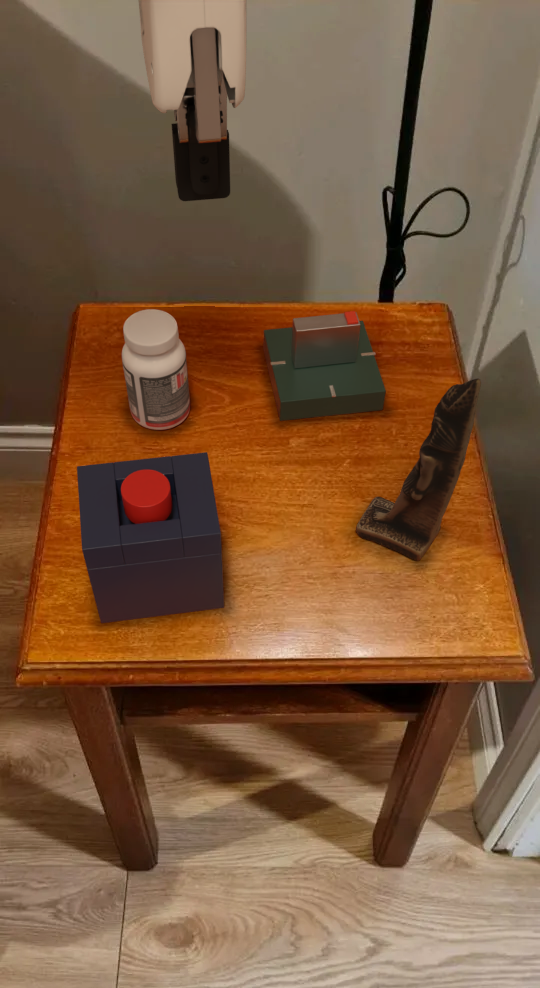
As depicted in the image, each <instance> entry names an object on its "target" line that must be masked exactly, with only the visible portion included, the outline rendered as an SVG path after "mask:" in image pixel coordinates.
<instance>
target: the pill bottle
mask: <svg viewBox="0 0 540 988" xmlns="http://www.w3.org/2000/svg"><path fill="white" fill-rule="evenodd" d="M122 328H123V329H122V332H123V338H124V339H123V340H124V344H123V346H122V350H121V362H122V369H123V374H124V380H125V388H126V393H127V400H128V406H129V411H130V414H131V417H132V418H133V420H134V421H135V422H136V423H137V424H138V425H139V426H142V427H143V428H146V429H148V430H152V431H153V430H154V431H164V430H170V429H172V428H175V427H177V426H179V425H181V424H182V423H183V422H184V421H185V420H186V419H187V417H188V416H189V413H190V410H191V395H190V383H189V375H188V361H187V352H186V347H185V345H184V343H183V342H182V340H181V339H180V337H179V336H180V335H179V327H178V323H177V320H176V319H175V317H174V316H173V315H171V314H170V313H168V312H167V311H165V310H162V309H155V308H150V309H149V308H147V309H142V310H139V311H136V312H134V313H133V314H131V315H129V316H128V318H127V319H126V320H125V321H124V323H123V327H122Z"/></svg>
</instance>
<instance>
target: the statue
mask: <svg viewBox="0 0 540 988" xmlns="http://www.w3.org/2000/svg"><path fill="white" fill-rule="evenodd" d="M481 385H482V381H481V379H480V378H474V379H470V380H468V381H465V382H463V383H457V384H454V385H451V387H449V388H448V389H447V390H446V392H445V393H444V395H442V397H441V399H440V400H439V402H438V403H437V404H436V406H435V408H434V411H433V418H432V420H431V424H430V431H429V433H428V435H427V436H426V438H425V439H424V441H423V442H422V444H421V445H420V448H419V452H418V453H419V454H418V455H419V457H418V460H417V461H416V463H415V464H414V465H413V467H412V469H411V471H410V472H409V473H408V475H407V476H406V477H405V479H404V481H403V484H402V487H401V489H400V492H399V494H398V497H397V498H396V499H395V502H393V501H391V500H389V499H386V498H384V497H381V496H375V497H374V498H372V500H371V502H369V504H368V506H367V508H366V509H365V510H364V513H362V515H361V517H360V519H359V521H358V522H357V524H356V527H355V532H356V534H357V535H358V536H359V537H360V538H362V539H364V540H367V541H370V542H373V543H376V544H379V545H381V546H383V547H385V548H387V549H390V550H392V551H395V552H398V553H399V554H401V555H404V556H405V557H408V558H410V559H411V560H414V561H417V562H418V561H421V560H422V558H423V557H424V556H425V554H426V552H427V551H428V550H429V548H430V547H431V545H432V544H433V542H434V540H435V539H436V538H437V536H438V534H439V533H440V531H441V529H442V528H441V524H442V521H443V520H442V519H443V517H444V515H445V513H446V511H447V509H448V506H449V504H450V501H451V498H452V496H453V494H454V491H455V488H456V486H457V483H458V481H459V477H460V476H461V471H462V469H463V466H464V464H465V460H466V455H467V451H468V448H469V447H468V446H469V443H470V440H471V435H472V431H473V428H474V422H475V418H476V413H477V407H478V401H479V396H480V392H481V388H482V386H481Z"/></svg>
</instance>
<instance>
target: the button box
mask: <svg viewBox="0 0 540 988" xmlns="http://www.w3.org/2000/svg"><path fill="white" fill-rule="evenodd" d="M210 465H211V464H210V460H209V454H208V452H206V451H205V452H195V453H188V454H187V453H186V454H178V455H167V456H160V457H159V456H158V457H150V458H141V459H131V460H123V461H122V460H121V461H114V462H105V463H95V464H94V463H93V464H86V465H78V466H76V475H77V491H78V492H77V493H78V507H79V508H78V509H79V523H80V540H81V551H82V555H83V558H84V563H85V567H86V571H87V575H88V578H89V582H90V585H91V589H92V593H93V597H94V601H95V605H96V609H97V612H98V616H99V620H100V623H101V624H105V623H113V622H121V621H132V620H138V619H139V620H140V619H145V618H152V617H153V618H154V617H163V616H171V615H177V614H178V615H179V614H184V613H185V614H186V613H193V612H201V611H209V610H217V609H224V608H225V596H224V573H223V571H224V570H223V550H222V549H223V548H222V531H221V525H220V520H219V513H218V507H217V501H216V496H215V490H214V484H213V478H212V472H211V466H210ZM146 469H147V470H155V471H158V472H160V473H162V474H163V475H164V476H165V477H166V478H167V479H168V481H169V483H170V489H171V498H172V511H171V513H170V515H169V517H168V518H167V519H166V520H164V521H157V522H148V523H139V524H135V523H133V522H132V521H130V520H129V519H128V518H127V516H126V514H125V511H124V505H123V500H122V495H121V485H122V483H123V481H124V480H125V478H126V477H127V476H129V475H130V474H131V473H133V472H136V471H139V470H146Z"/></svg>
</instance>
